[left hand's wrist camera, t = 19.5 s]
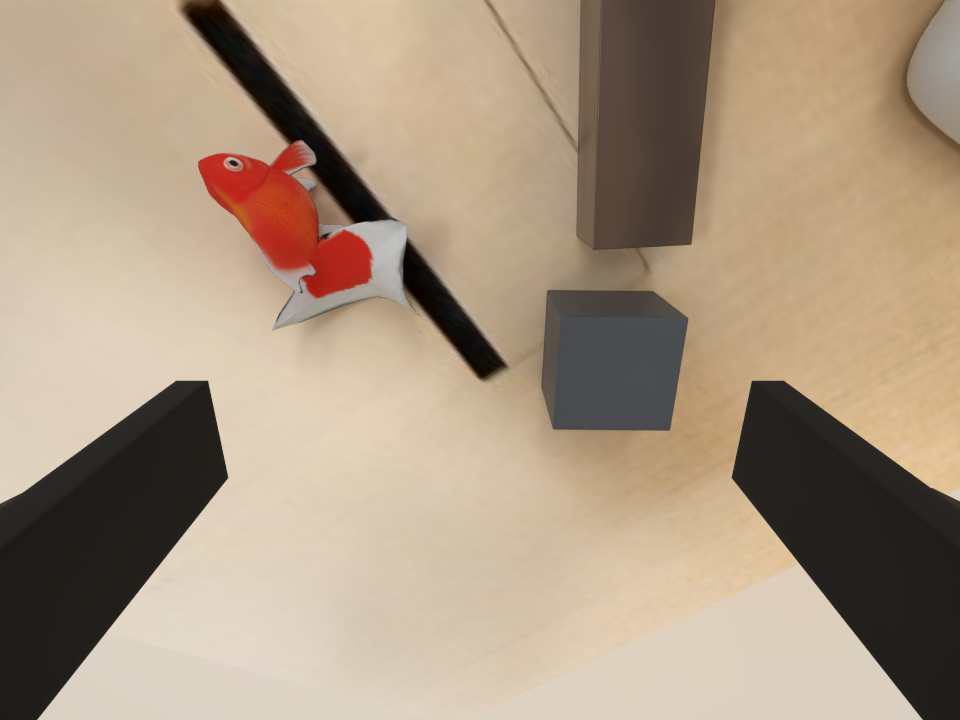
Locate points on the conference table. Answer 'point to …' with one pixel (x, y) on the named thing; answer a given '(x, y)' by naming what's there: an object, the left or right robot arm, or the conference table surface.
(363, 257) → the fish
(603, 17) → the long brown block
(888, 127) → the conference table surface
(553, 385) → the grey block
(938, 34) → the projector
